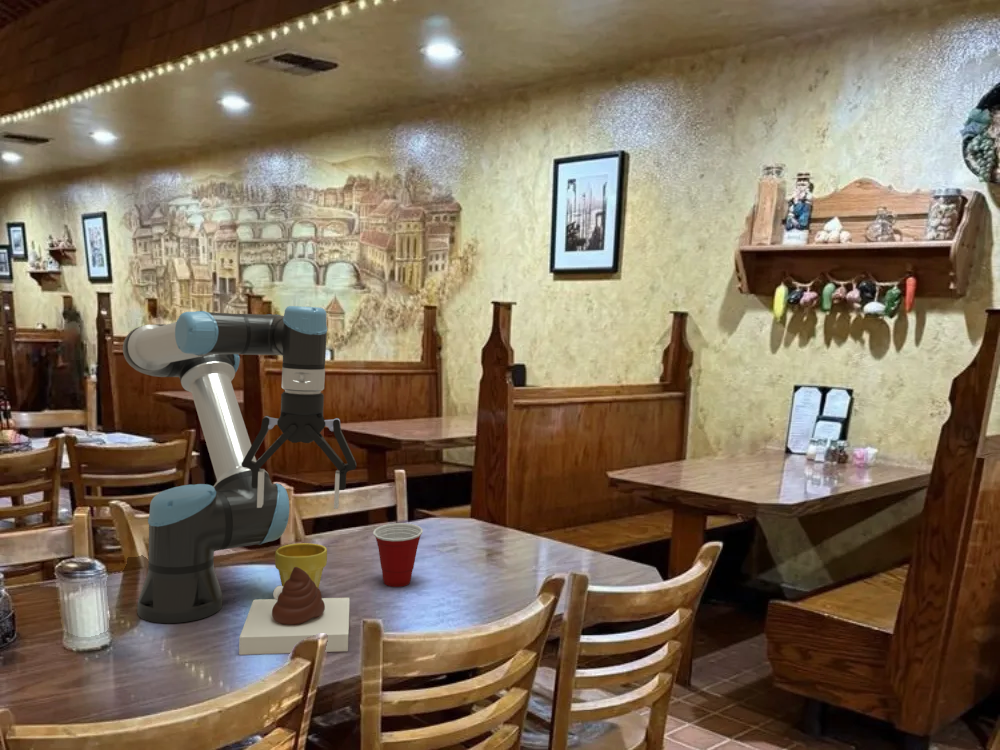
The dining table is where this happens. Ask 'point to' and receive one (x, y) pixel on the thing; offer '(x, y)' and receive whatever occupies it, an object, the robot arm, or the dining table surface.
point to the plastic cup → (397, 551)
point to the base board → (293, 628)
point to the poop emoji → (297, 599)
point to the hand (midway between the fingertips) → (298, 506)
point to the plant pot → (301, 560)
